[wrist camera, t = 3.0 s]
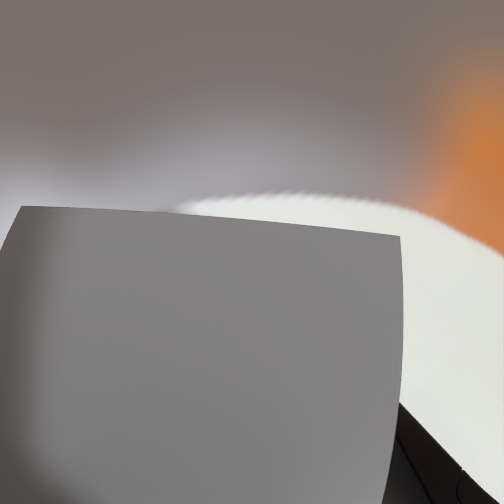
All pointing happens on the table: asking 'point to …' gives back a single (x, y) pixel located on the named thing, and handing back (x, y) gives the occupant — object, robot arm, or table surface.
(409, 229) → the table surface
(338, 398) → the smooth gray cuboid
